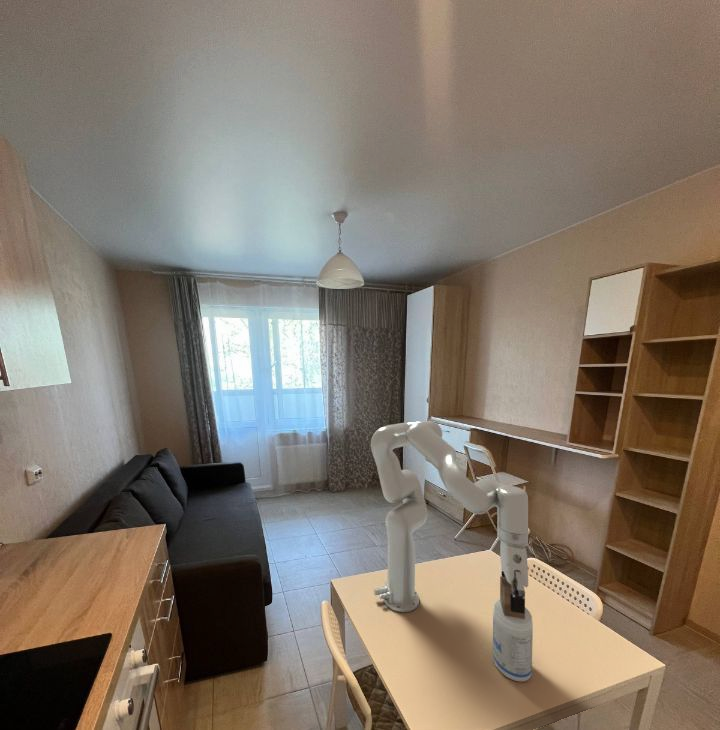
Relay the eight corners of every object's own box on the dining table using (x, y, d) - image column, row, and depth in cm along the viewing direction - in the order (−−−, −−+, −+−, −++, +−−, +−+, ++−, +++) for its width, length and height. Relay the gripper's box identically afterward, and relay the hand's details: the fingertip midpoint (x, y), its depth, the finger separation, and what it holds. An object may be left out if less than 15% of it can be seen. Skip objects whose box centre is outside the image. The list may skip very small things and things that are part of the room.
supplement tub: (486, 651, 87) (486, 598, 87) (517, 649, 87) (517, 596, 88) (505, 686, 77) (505, 625, 77) (541, 683, 78) (540, 623, 78)
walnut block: (525, 619, 80) (525, 591, 80) (504, 615, 81) (504, 588, 81) (519, 605, 85) (519, 579, 85) (500, 601, 86) (500, 576, 86)
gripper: (538, 553, 74) (538, 626, 74) (518, 521, 91) (518, 580, 90) (505, 549, 76) (505, 620, 75) (491, 518, 93) (491, 576, 92)
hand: (512, 598), depth 83 cm, fingers open, 9 cm apart
